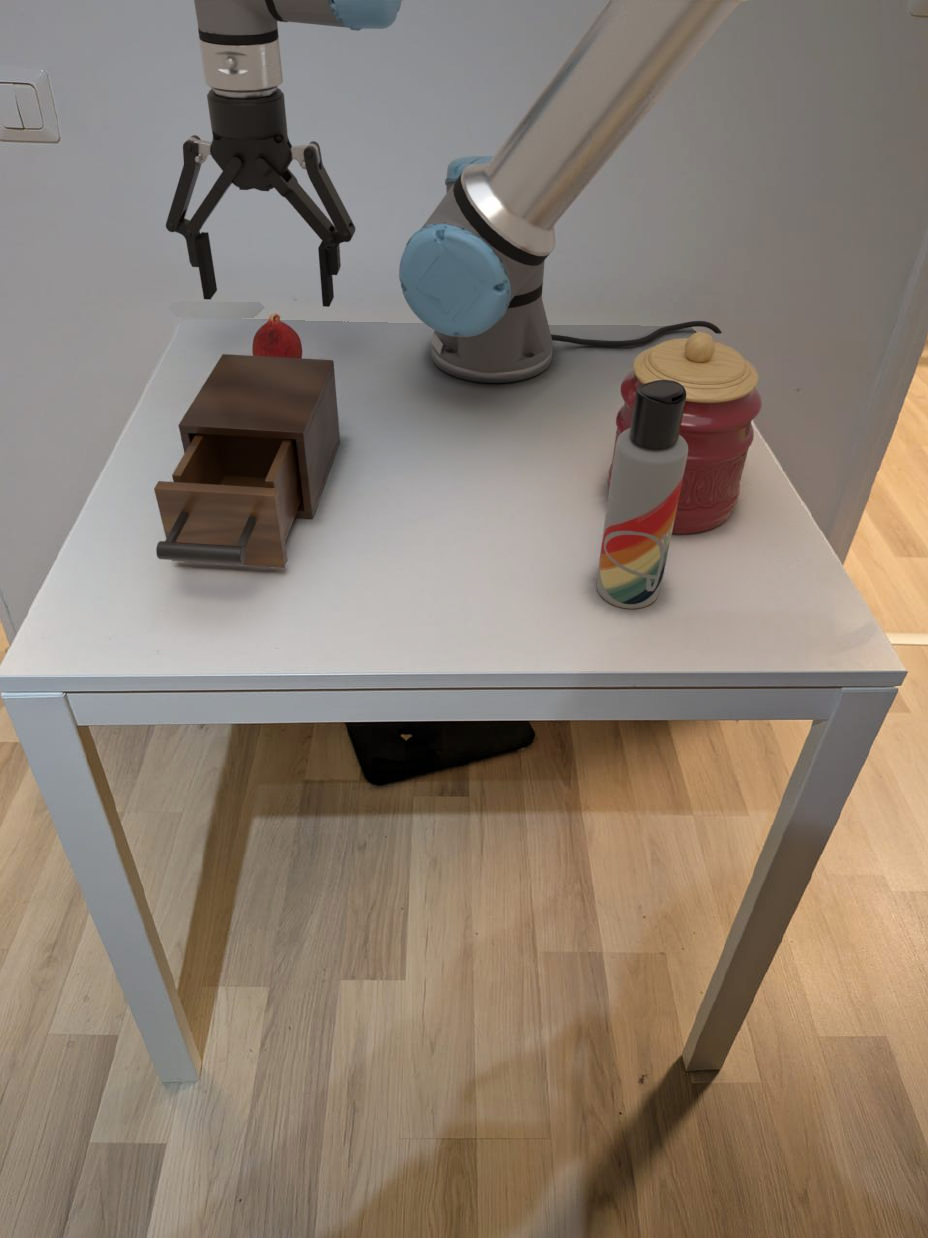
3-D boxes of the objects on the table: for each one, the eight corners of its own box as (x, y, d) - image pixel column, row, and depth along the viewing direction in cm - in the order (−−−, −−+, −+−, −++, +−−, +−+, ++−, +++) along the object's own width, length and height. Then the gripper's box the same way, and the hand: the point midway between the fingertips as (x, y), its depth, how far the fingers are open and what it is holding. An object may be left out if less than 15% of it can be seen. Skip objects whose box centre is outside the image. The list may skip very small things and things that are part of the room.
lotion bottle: (630, 619, 80) (667, 412, 67) (582, 587, 84) (609, 383, 70) (672, 592, 83) (716, 388, 70) (624, 562, 86) (657, 361, 73)
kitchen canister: (752, 489, 96) (796, 325, 84) (707, 553, 88) (748, 381, 76) (637, 452, 101) (663, 292, 89) (583, 509, 93) (604, 341, 81)
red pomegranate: (295, 392, 110) (288, 327, 104) (249, 386, 111) (239, 322, 105) (311, 370, 114) (305, 306, 109) (266, 365, 115) (258, 302, 110)
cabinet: (312, 519, 91) (303, 432, 84) (196, 511, 91) (178, 425, 85) (340, 441, 102) (333, 359, 95) (236, 435, 102) (222, 353, 96)
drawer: (269, 611, 79) (257, 537, 74) (149, 603, 80) (129, 528, 74) (315, 485, 93) (308, 416, 88) (213, 479, 94) (200, 410, 89)
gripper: (107, 90, 89) (150, 305, 104) (363, 103, 88) (372, 318, 102) (134, 73, 95) (172, 278, 109) (376, 85, 94) (382, 291, 108)
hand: (269, 298), depth 106 cm, fingers open, 13 cm apart
